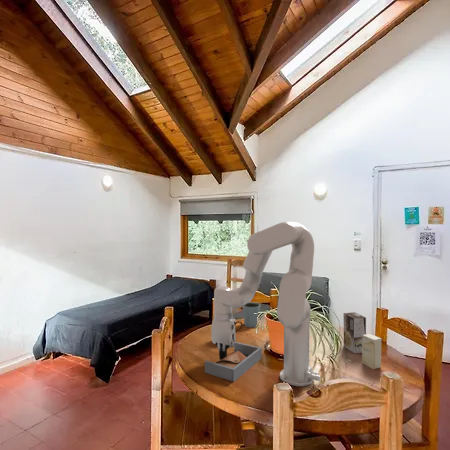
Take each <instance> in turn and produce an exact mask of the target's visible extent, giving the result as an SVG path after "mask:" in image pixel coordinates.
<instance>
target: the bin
mask: <svg viewBox="0 0 450 450" xmlns="http://www.w3.org/2000/svg"><path fill="white" fill-rule="evenodd" d="M262 349H263V348H262V347H260V346H259V347H258V346H255V345H252V344H251V345H250V344H247V343H246V344H245V343H242V342H238V341H235V342H234V347H233V353H235V352H236V351H238V350H239V352H241V353H242V354H243V355H244V356H246V357H247V358H245V359H244V360H243V361H242V362H240V363H239V364H238V365H236V366H235V367H234V368H231V367H227V366H224V365H220V364H217V363H216V362H213V361H209V360H205V361H204V373H205V374H208V375H211V376H215V377H217V378H221V379H225V380H227V381H230V382H236V381H237V380H238V379H239V378H241V376H243V375H244V374H245V373H246V372H247V371H248V370H250V369H251V368H252V367H253V366H254V365H256V364H257V362H259V361H260V360H261V359H263V357H262V354H263V353H262Z"/></svg>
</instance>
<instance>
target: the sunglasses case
mask: <svg viewBox="0 0 450 450" xmlns="http://www.w3.org/2000/svg"><path fill="white" fill-rule="evenodd" d="M247 357H248V356H247V355H243V354H242V353H241V352H239V350H238V351H236V352H233V353H231V354H229V355H227V357H225V358H223V359H222V360H220V359H219V360H218V361H216V362H215V363H217V364H220V365H224V366H227V367H231V368H234V367H235V366H236V365H238V364H239V363H240V362H242V361H243V360H244V359H245V358H247Z"/></svg>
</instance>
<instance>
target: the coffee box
mask: <svg viewBox="0 0 450 450" xmlns="http://www.w3.org/2000/svg"><path fill="white" fill-rule="evenodd" d="M365 334H367V317H365V316H364V315H361V314H360V313H357V312H353V311H352V312H344V313H343V346H344V348H346V349H348V351H350V352H351V353H353V354H360V353H361V354H362V343H363V335H365Z"/></svg>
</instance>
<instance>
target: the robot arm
mask: <svg viewBox="0 0 450 450" xmlns="http://www.w3.org/2000/svg"><path fill="white" fill-rule="evenodd" d="M246 244H247V245H246V246H247V249H248V253H247V255H246V257H245V259H244V262H243V264H242V266H243V269H245V274H244V277H243V280H242V283H241V284H240V286H239V287H237V288H235V289H231V288H230V287H229V286H218V287H215V289H214V291H213V302H214V303H213V306H214V307H213V309H214V310H213V318H212V323H211V331H210V332H211V334H210V335H211V336H210V337H211V342H212V343H213V344H214V345H216V347H217V350H218V356H219V361H220V360H222V359H223V358H225V357H227V356H228V349H232V348H233V349H234V342H237V340H236V339H237V338H236V333H235V331H236V325H234V320H233V318H234V319H235V315H233V311H232V309H240V308H243V306H244V305H245V304H247V303H250V302H252V300H253V299H254V297H255V295H256V293H257V291H258V289H259V287H260V284H261V282H262V281H261V280H262V276H263V273H264V270H265V268H266V265H267V263H268V261H269V259H270V258H271V255H272V253H273V251H275V250H277V249H278V250H279V249H280V248H283V247H286V246H290V245H291V252H290V259H289V260H290V261H289V269H288V272H286V273H285V274H284V275H283V276H282V278H281V279H280V282H279V289H278V297H277V298H278V299H277V309H276V316H277V319H278V322H280V324H281V325H282V326H283V369H281V371H280V372H279V378H280V380H281V381H282V382H284V383H285V382H286V383H285V384H287V383H289V384H288V385H290V386H294V387H307V386H309V385H312V384H313V382H314V381H316V382H321V378H322V377H321V375H320V372H317V371H313V369H312V368H313V367H312V366H310V324H311V304H310V302H309V301H308V299H307V298H306V297H307V292H308V291H309V290H310V289H311V286H312V281H313V280H312V278H313V269H314V268H313V267H314V254H315V242H314V237H313V236H312V234H311V231H310V230H309V229H308V228H306V226H304V225H303V224H301V223H299V222H295V221H283V222H280V223H276V224H274V225H272V226H270V227H267V228H264V229H262V230H259V231H256V232H255V233H252V234H251V235H250V236H249V238H248V240H247V243H246Z"/></svg>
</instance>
